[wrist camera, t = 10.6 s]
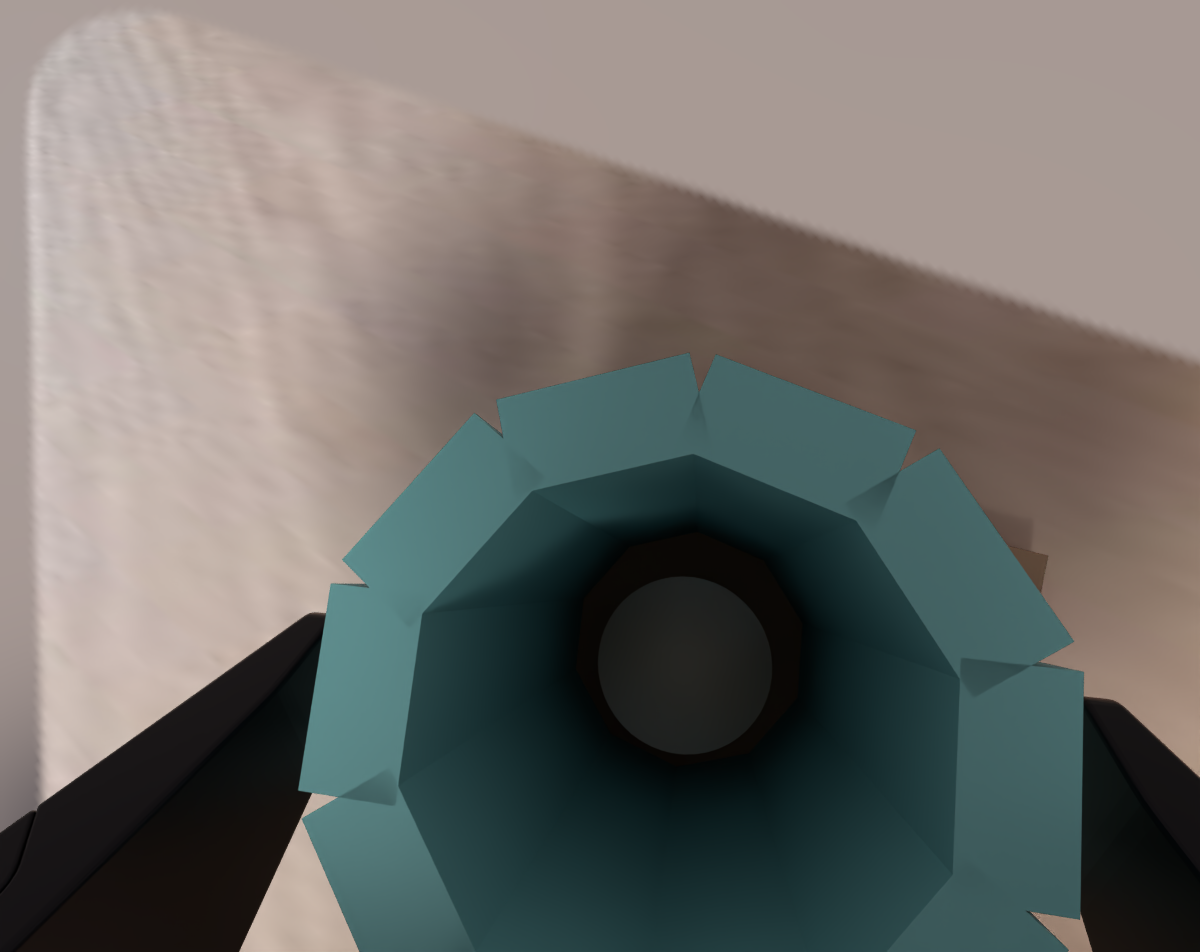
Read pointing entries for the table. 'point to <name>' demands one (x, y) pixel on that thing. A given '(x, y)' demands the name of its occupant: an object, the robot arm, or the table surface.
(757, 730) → the peg board
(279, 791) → the robot arm
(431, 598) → the teal collar
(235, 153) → the table surface
